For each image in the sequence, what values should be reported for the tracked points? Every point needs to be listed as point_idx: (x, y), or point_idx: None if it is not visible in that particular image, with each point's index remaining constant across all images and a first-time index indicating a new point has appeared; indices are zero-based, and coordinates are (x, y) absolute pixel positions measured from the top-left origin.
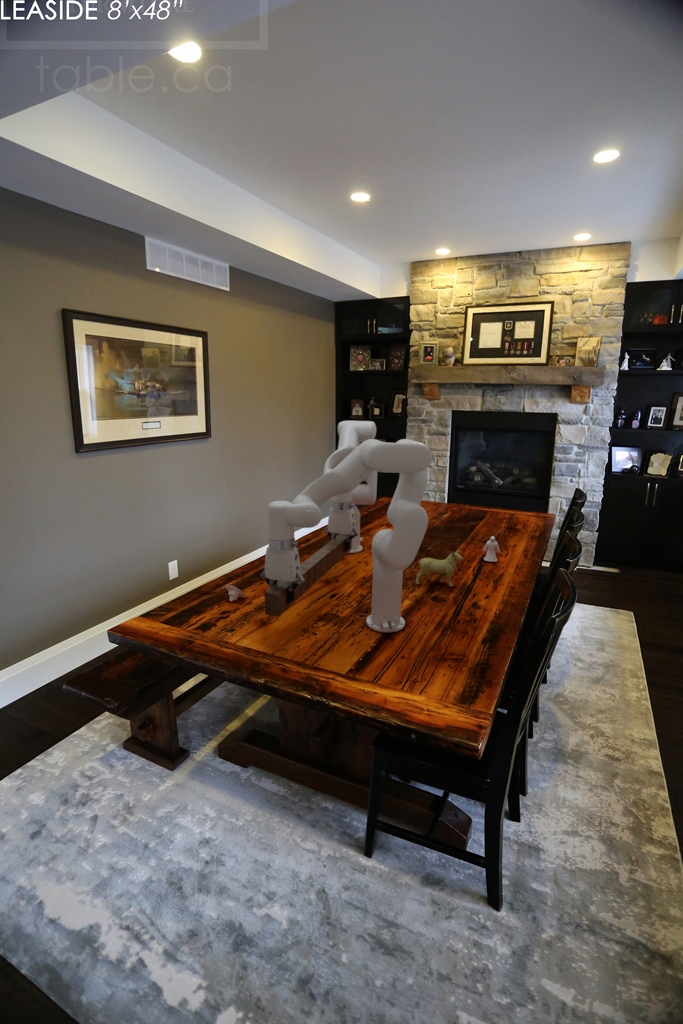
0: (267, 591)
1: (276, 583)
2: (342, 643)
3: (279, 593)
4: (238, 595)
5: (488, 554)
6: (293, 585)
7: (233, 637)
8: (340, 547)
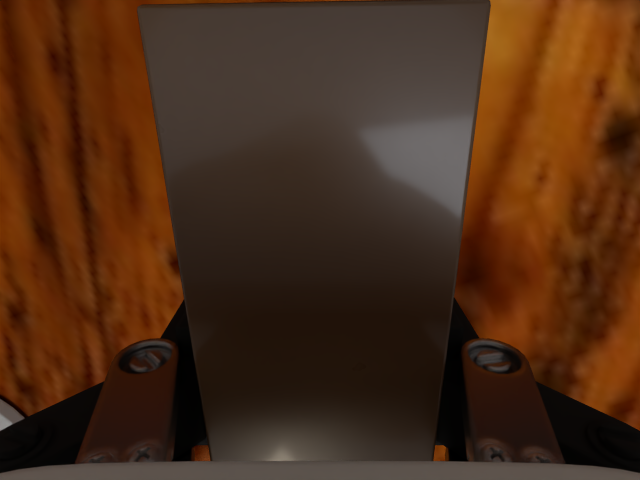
0: (447, 83)
1: (430, 441)
2: (8, 229)
3: (153, 83)
4: None
5: None
6: (75, 431)
7: (584, 60)
8: None
